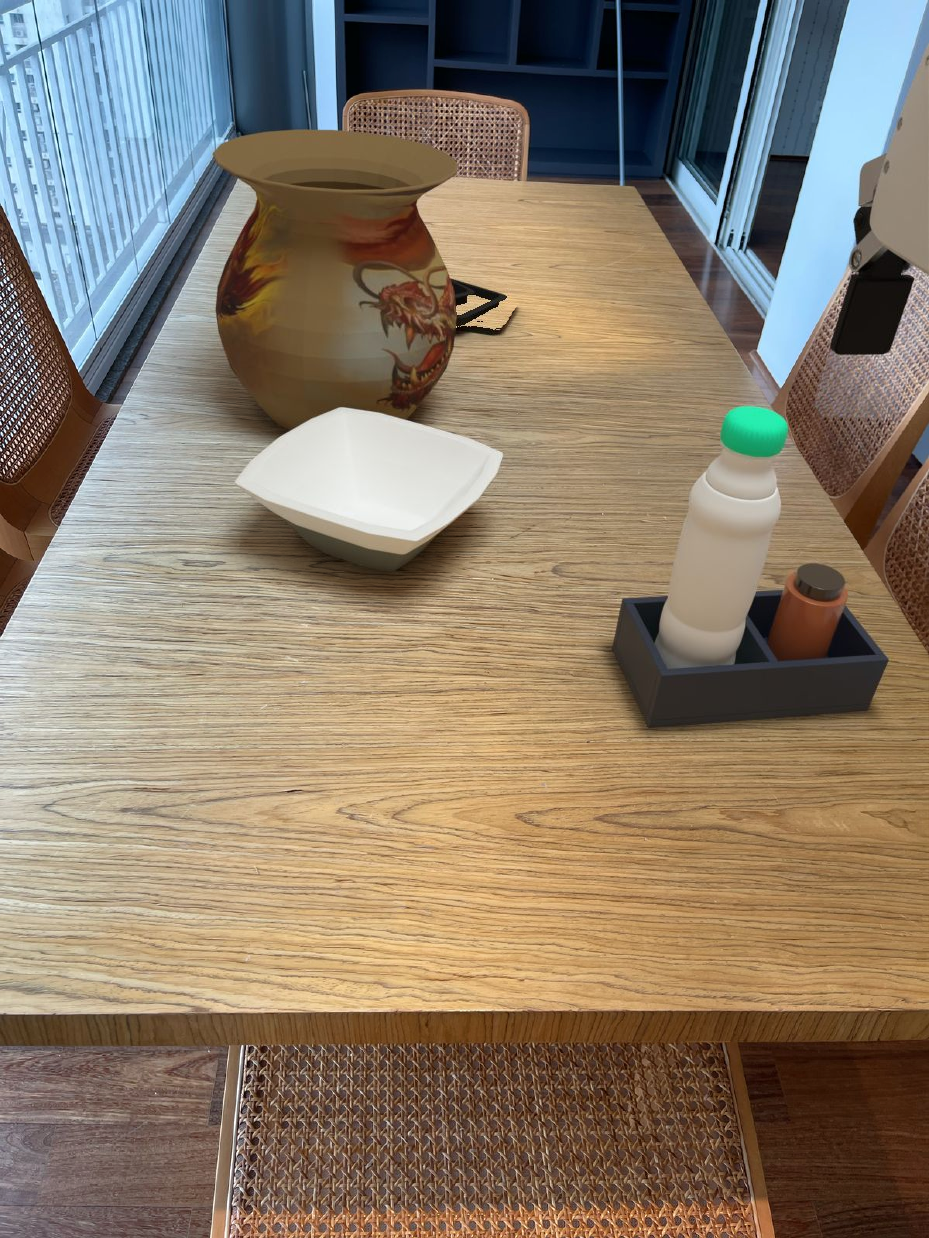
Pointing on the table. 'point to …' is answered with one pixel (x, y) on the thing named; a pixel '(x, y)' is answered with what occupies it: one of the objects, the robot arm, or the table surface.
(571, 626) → the table surface
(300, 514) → the bowl
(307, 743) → the table surface
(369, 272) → the vase
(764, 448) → the water bottle
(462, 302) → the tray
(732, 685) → the divided storage box
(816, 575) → the spice jar
